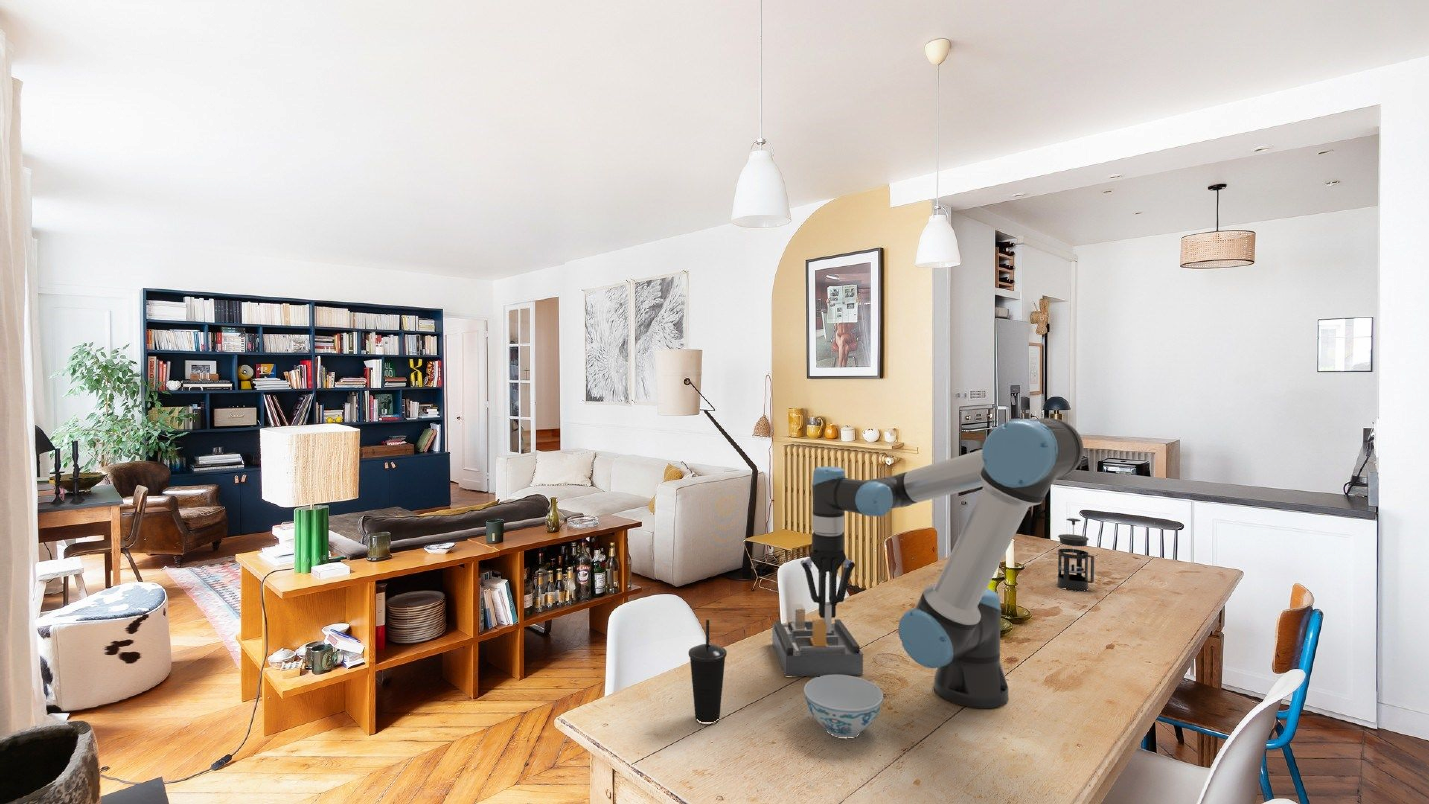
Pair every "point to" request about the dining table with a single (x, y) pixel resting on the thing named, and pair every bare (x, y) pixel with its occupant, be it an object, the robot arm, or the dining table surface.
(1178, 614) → the dining table surface
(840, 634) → the grey compartment box
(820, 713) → the chinaware
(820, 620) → the switch
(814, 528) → the robot arm
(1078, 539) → the french press
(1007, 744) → the dining table surface
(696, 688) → the drinking cup
